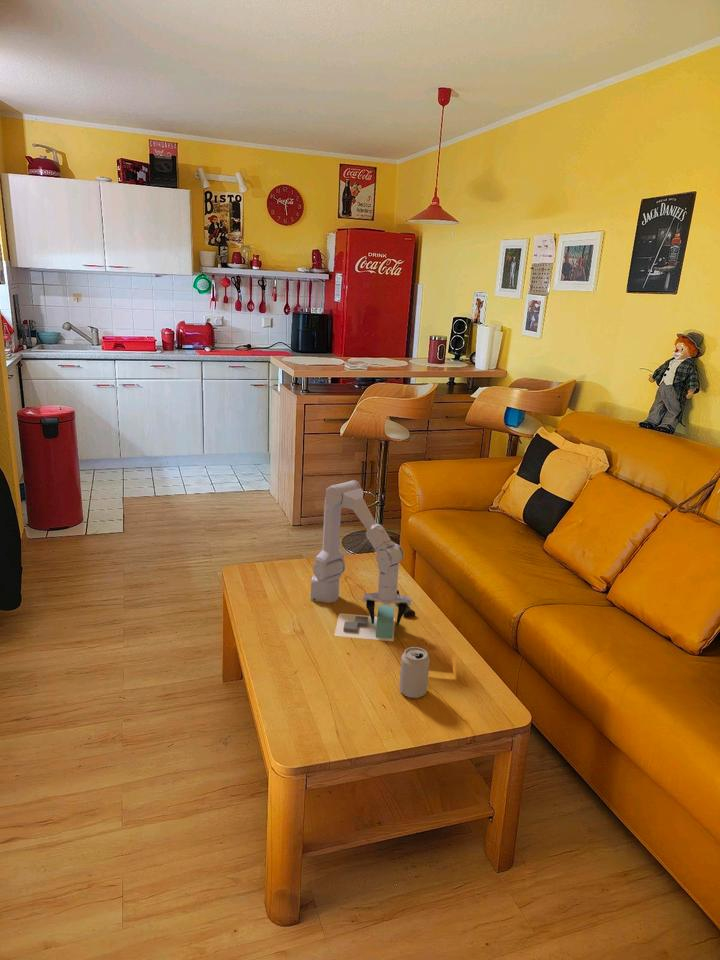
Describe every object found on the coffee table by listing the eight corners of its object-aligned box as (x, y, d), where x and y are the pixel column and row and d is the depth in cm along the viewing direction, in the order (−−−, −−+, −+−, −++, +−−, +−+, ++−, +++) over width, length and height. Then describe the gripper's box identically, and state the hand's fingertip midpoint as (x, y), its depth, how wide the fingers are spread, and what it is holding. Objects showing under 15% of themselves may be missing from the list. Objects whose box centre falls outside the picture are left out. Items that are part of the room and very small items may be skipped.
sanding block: (375, 636, 200) (376, 622, 198) (377, 618, 210) (378, 604, 208) (392, 638, 199) (393, 623, 198) (393, 620, 210) (394, 606, 208)
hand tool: (415, 621, 213) (416, 608, 212) (403, 622, 212) (404, 609, 211) (396, 594, 231) (397, 582, 229) (385, 595, 229) (386, 583, 228)
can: (418, 703, 172) (422, 663, 168) (393, 693, 176) (396, 654, 172) (431, 689, 178) (435, 650, 174) (406, 680, 182) (410, 641, 178)
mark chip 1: (343, 631, 202) (343, 628, 201) (344, 624, 205) (344, 621, 205) (356, 632, 201) (356, 629, 201) (357, 626, 205) (357, 622, 205)
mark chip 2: (354, 625, 205) (354, 622, 205) (355, 619, 209) (355, 616, 209) (367, 626, 205) (367, 623, 205) (368, 620, 209) (368, 617, 208)
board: (333, 640, 199) (334, 635, 199) (339, 617, 213) (339, 613, 212) (393, 645, 198) (393, 641, 198) (394, 622, 212) (395, 618, 211)
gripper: (363, 587, 197) (360, 627, 201) (411, 591, 196) (408, 631, 200) (364, 577, 203) (362, 616, 207) (411, 581, 202) (408, 620, 206)
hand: (385, 623), depth 204 cm, fingers open, 7 cm apart
